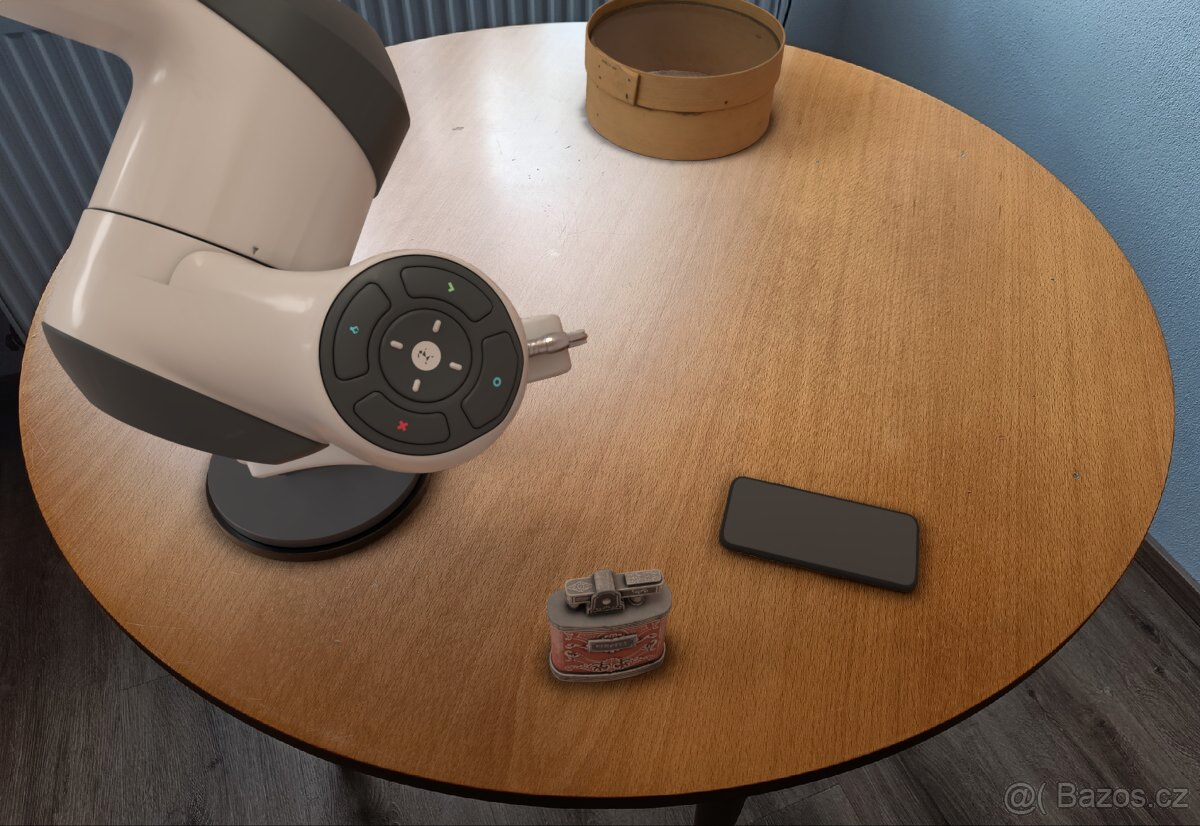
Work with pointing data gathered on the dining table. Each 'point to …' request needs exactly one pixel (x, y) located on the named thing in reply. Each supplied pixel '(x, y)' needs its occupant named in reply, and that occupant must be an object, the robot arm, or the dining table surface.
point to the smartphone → (821, 533)
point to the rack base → (328, 549)
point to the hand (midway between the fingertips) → (399, 387)
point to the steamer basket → (682, 104)
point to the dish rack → (306, 501)
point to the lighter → (608, 625)
